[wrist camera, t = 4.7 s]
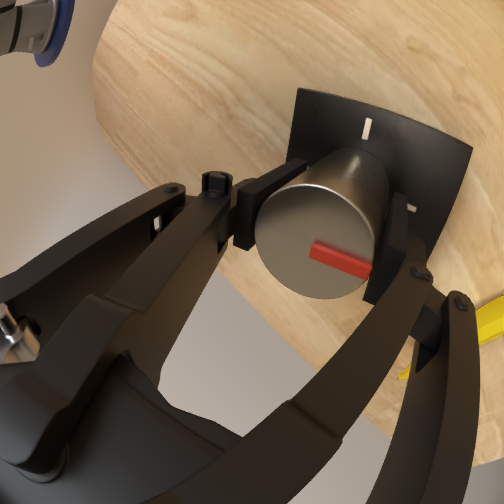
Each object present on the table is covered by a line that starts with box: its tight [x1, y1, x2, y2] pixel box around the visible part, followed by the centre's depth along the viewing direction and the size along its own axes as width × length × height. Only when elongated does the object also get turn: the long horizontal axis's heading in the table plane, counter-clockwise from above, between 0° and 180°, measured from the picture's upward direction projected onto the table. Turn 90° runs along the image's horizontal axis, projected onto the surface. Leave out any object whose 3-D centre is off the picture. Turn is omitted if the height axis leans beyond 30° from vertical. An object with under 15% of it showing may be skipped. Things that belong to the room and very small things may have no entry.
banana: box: [397, 295, 504, 380], centre depth 15 cm, size 3×19×6 cm, turn 135°
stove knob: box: [254, 148, 389, 299], centre depth 13 cm, size 5×5×9 cm
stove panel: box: [286, 88, 473, 262], centre depth 17 cm, size 12×11×3 cm
